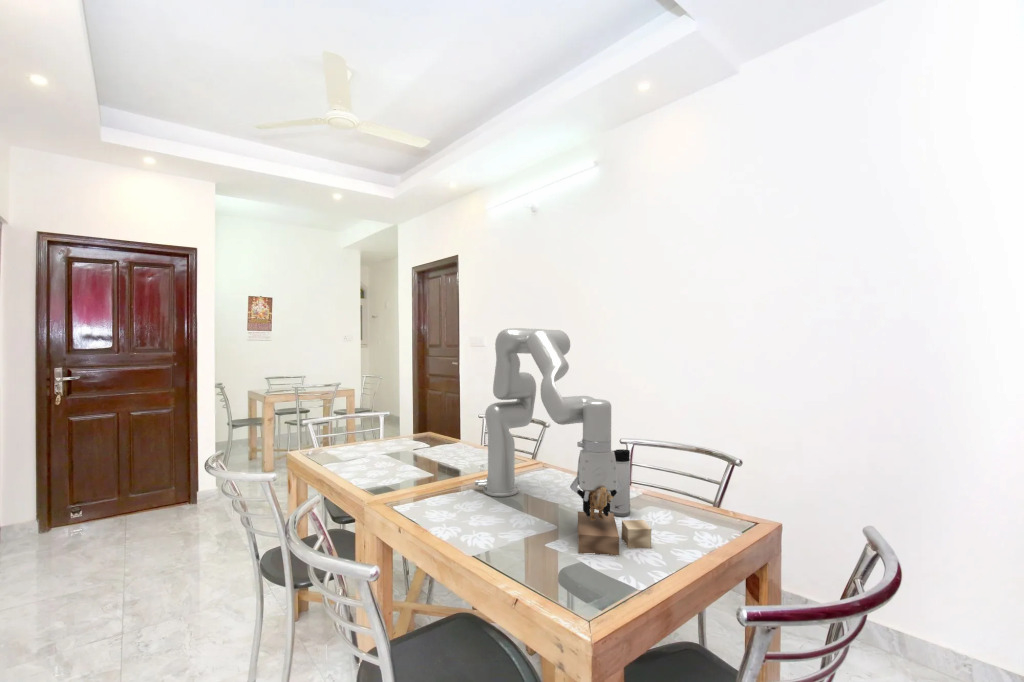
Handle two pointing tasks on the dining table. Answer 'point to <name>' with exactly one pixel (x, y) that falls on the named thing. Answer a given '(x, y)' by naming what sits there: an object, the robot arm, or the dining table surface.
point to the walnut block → (597, 534)
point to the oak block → (636, 534)
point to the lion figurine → (599, 501)
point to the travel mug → (622, 498)
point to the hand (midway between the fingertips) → (596, 513)
